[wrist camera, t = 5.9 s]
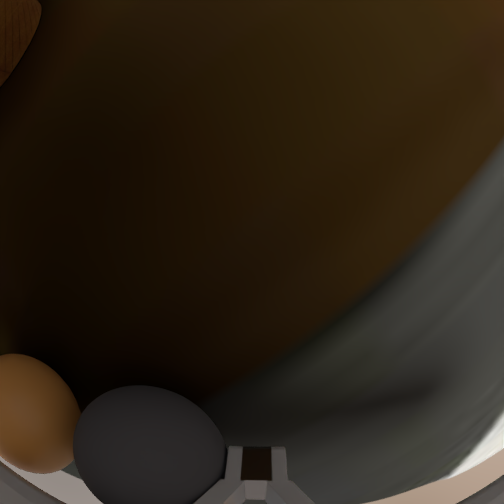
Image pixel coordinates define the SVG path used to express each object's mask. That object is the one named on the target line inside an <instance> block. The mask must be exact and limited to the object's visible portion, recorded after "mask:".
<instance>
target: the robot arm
mask: <svg viewBox="0 0 504 504" xmlns="http://www.w3.org/2000/svg"><path fill="white" fill-rule="evenodd" d="M245 499H260V500H265V501H266V502H267V503H268V504H315V503H314V502H313V501H312V500H311V499H310V498H309V497H308V496H307V495H306V494H305V493H304V492H303V491H302V490H301V489H300V488H299V487H298V486H297V485H296V484H295V483H294V482H293V481H292V480H288V476H287V461H286V449H285V447H284V446H282V447H271V446H270V447H247V446H229V448H228V455H227V463H226V471H225V478H224V479H220V480H219V481H218V482H217V483H216V484H215V485H214V486H213V487H212V488H210V489H209V490H208V491H207V492H206V493H205V494H204V495H203V496H201V497H200V498H199V499H198V500H197V501H196V502H195V503H193V504H243V502H244V501H245ZM0 504H66V503H64V502H62V501H60V500H58V499H57V498H55V497H53V496H51V495H49V494H48V493H46V492H44V491H43V490H41V489H39V488H38V487H36V486H35V485H33V484H32V483H30V482H28V481H27V480H25V479H24V478H23V477H21V476H20V475H18V474H17V473H15V472H14V471H13V470H11V469H10V468H9V467H7V466H6V465H4V464H3V463H2V462H1V461H0ZM457 504H504V475H502V476H501V477H500V478H498V479H496V480H495V481H494V482H492V483H490V484H489V485H487V486H486V487H484V488H483V489H481V490H479V491H478V492H476V493H475V494H473V495H471V496H469V497H468V498H466V499H464V500H462V501H460V502H459V503H457Z"/></svg>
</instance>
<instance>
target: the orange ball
mask: <svg viewBox="0 0 504 504" xmlns="http://www.w3.org/2000/svg"><path fill="white" fill-rule="evenodd" d="M80 416H81V412H80V409H79V406H78V403H77V401H76V399H75V397H74V395H73V393H72V391H71V390H70V388H69V387H68V385H67V384H66V383H65V381H64V380H63V379H62V378H61V377H60V376H59V375H58V374H57V373H56V372H55V371H54V370H53V369H52V368H50V367H49V366H48V365H46V364H45V363H43V362H41V361H39V360H37V359H35V358H33V357H30V356H27V355H23V354H5V355H1V356H0V456H1V457H2V458H3V459H5V460H6V461H7V462H9V463H10V464H12V465H14V466H16V467H17V468H19V469H22V470H25V471H28V472H32V473H39V474H46V473H52V472H56V471H59V470H61V469H63V468H65V467H66V466H67V465H69V464H70V463H71V462H72V461H73V460H74V454H73V436H74V430H75V427H76V424H77V421H78V419H79V418H80Z"/></svg>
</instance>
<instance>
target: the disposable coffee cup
mask: <svg viewBox="0 0 504 504" xmlns="http://www.w3.org/2000/svg"><path fill="white" fill-rule="evenodd" d="M41 10H42V8H41V5H40V3H39V2H38V1H37V0H0V87H1V86H2V84H3V83H4V82H5V80H6V79H7V78H8V77H9V75H10V74H11V72H12V71H13V69H14V68H15V67H16V65H17V64H18V62H19V61H20V59H21V57H22V56H23V54H24V52H25V51H26V49H27V47H28V45H29V44H30V41H31V39H32V37H33V35H34V34H35V31H36V29H37V26H38V24H39V20H40V16H41Z"/></svg>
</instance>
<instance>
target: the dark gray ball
mask: <svg viewBox="0 0 504 504" xmlns="http://www.w3.org/2000/svg"><path fill="white" fill-rule="evenodd" d="M73 454H74V459H75V463H76V466H77V469H78V471H79V474H80V476H81V477H82V479H83V481H84V483H85V484H86V486H87V487H88V488H89V490H90V491H91V492H92V493H93V494H94V496H96V497H97V498H98V499H99V500H100V501H101V502H102V503H103V504H193V503H195V502H196V501H197V500H198V499H199V498H200V497H201V496H203V495H204V494H205V493H206V492H207V491H208V490H209V489H210V488H212V487H213V486H214V485H215V484H216V483H217V482H218V481H219V480H220V479H224V478H225V471H226V463H227V455H228V453H227V448H226V445H225V442H224V440H223V437H222V435H221V433H220V431H219V430H218V428H217V427H216V425H215V424H214V422H213V421H212V420H211V419H210V418H209V416H208V415H207V414H206V413H205V412H204V411H203V410H202V409H200V408H199V407H198V406H197V405H195V404H194V403H193V402H191V401H190V400H188V399H186V398H185V397H183V396H181V395H179V394H177V393H174V392H172V391H169V390H166V389H163V388H159V387H154V386H145V385H131V386H125V387H120V388H116V389H113V390H110V391H108V392H106V393H104V394H102V395H100V396H99V397H97V398H96V399H95V400H94V401H92V402H91V403H90V404H89V405H88V406H87V407H86V408H85V410H84V411H83V412H82V414H81V416H80V418H79V419H78V421H77V424H76V427H75V430H74V436H73Z"/></svg>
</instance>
